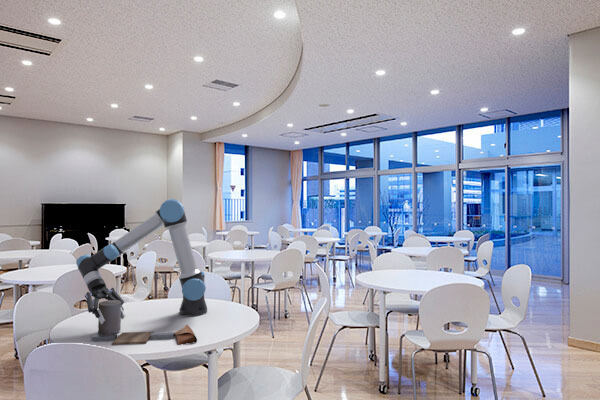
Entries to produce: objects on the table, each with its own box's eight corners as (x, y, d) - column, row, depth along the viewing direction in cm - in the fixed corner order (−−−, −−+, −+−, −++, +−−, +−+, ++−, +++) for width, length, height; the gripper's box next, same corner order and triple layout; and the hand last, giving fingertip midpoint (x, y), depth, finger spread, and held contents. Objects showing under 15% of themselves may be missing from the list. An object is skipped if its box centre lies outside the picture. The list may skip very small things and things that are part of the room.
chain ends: (174, 336, 184) (174, 332, 184) (173, 338, 181) (173, 334, 181) (93, 339, 180) (93, 334, 180) (91, 341, 177) (91, 337, 177)
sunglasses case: (171, 333, 188) (178, 320, 190) (184, 339, 191) (191, 326, 193) (177, 345, 172) (185, 330, 174) (191, 351, 175) (199, 337, 176)
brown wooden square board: (153, 333, 188) (153, 331, 188) (145, 343, 174) (145, 341, 174) (122, 334, 187) (122, 332, 187) (111, 344, 173) (111, 342, 173)
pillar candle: (93, 333, 187) (93, 301, 187) (110, 327, 196) (110, 296, 196) (109, 336, 184) (109, 303, 184) (125, 329, 193) (125, 298, 193)
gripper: (112, 283, 208) (131, 319, 199) (68, 291, 189) (87, 330, 180) (119, 274, 205) (138, 309, 196) (74, 281, 186) (93, 320, 178)
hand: (113, 319), depth 188 cm, fingers closed on pillar candle, 9 cm apart
